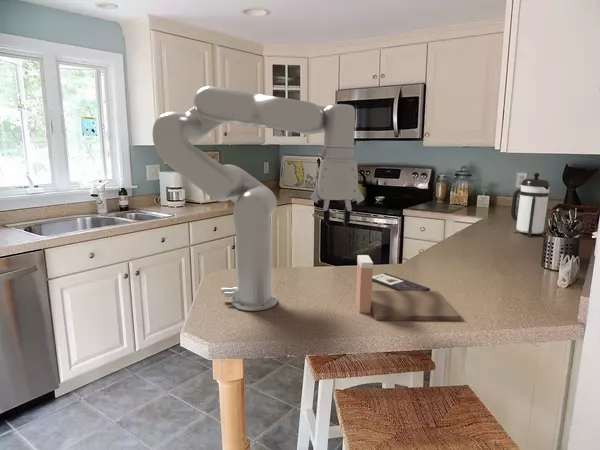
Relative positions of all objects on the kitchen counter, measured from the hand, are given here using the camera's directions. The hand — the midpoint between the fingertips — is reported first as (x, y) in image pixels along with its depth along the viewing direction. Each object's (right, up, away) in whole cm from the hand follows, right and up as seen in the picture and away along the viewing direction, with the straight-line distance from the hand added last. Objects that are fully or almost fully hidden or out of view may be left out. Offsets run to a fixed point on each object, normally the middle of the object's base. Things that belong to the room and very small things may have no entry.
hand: (336, 224), depth 113 cm
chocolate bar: (+21, -20, +24) cm, 38 cm away
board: (+21, -23, +6) cm, 31 cm away
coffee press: (+102, -5, +99) cm, 142 cm away
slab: (+8, -23, +5) cm, 25 cm away
